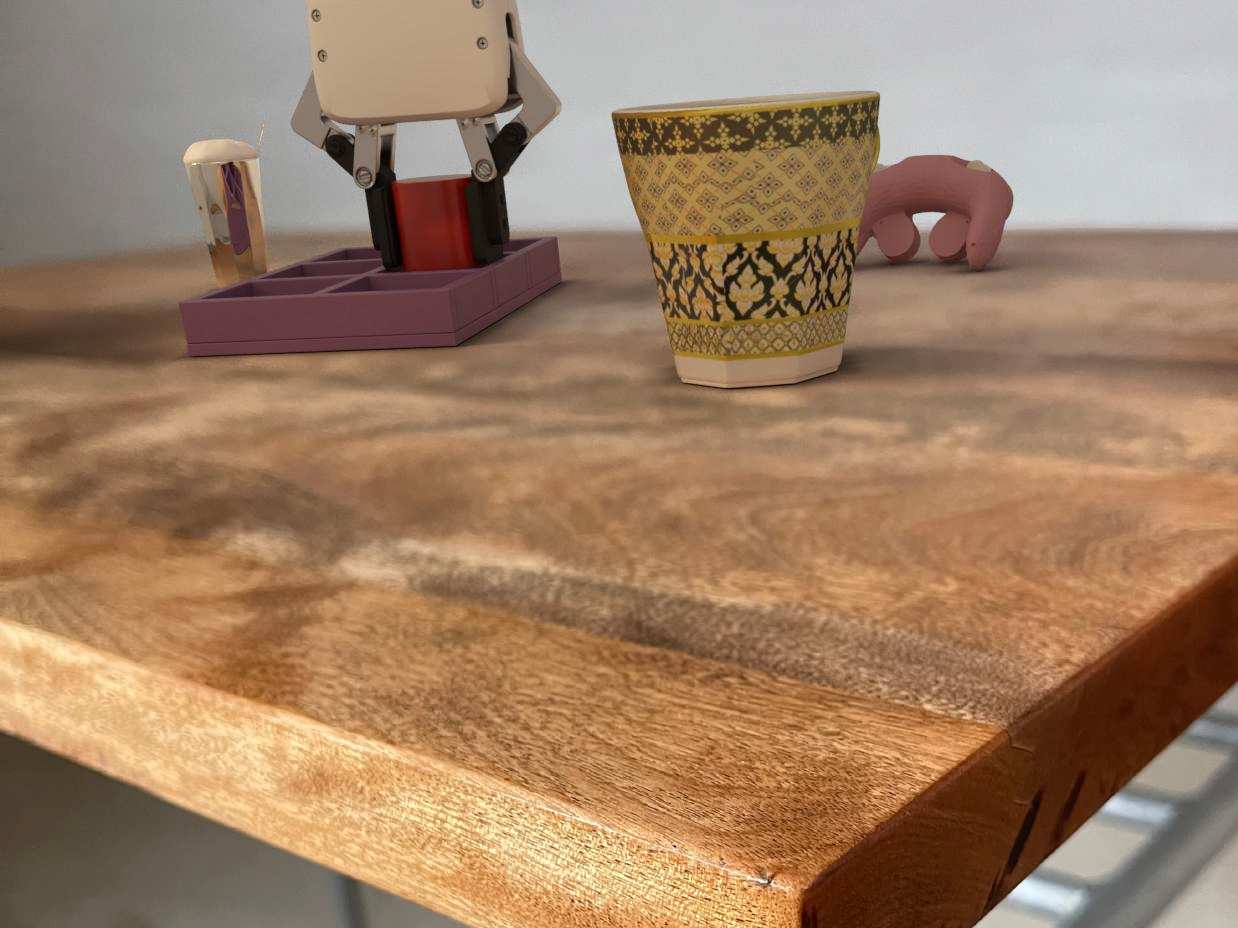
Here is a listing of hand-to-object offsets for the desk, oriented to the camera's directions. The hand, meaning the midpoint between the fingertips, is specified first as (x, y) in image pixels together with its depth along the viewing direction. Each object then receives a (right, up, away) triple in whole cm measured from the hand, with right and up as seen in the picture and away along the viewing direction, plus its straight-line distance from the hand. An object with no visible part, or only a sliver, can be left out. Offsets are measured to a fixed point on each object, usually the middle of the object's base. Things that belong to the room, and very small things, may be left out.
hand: (444, 258), depth 76 cm
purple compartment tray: (-3, -3, +2) cm, 4 cm away
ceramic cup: (+17, -10, -18) cm, 26 cm away
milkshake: (-15, +3, +17) cm, 23 cm away
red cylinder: (0, 0, 0) cm, 0 cm away
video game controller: (+26, +1, +6) cm, 27 cm away
